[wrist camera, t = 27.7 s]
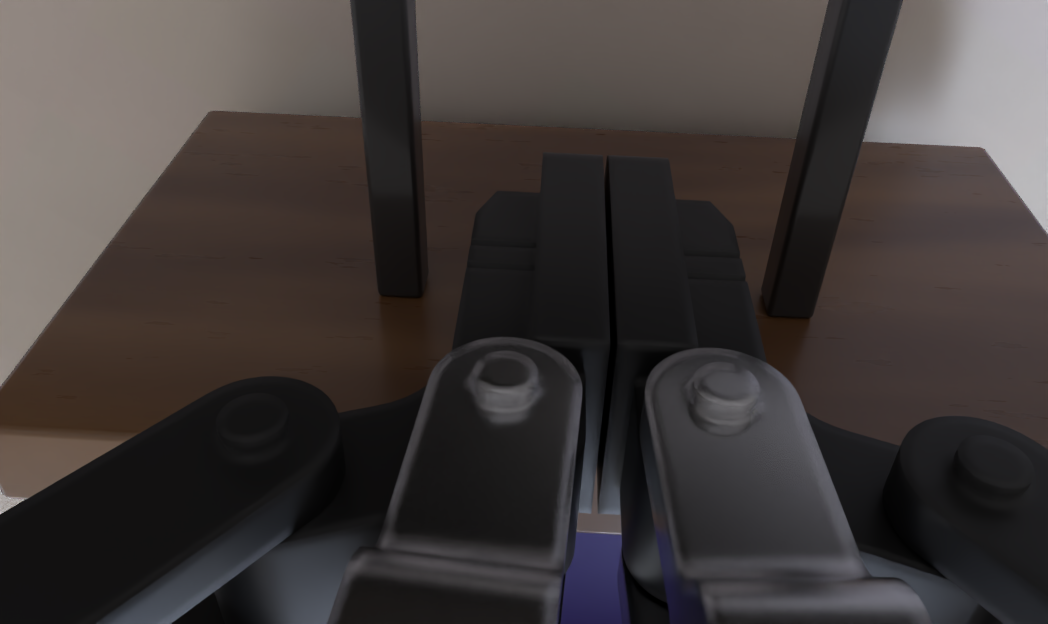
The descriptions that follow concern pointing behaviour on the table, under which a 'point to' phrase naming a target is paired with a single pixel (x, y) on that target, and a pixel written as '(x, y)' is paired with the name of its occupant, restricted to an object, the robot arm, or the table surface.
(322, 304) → the drawer
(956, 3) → the table surface
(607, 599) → the blue-violet rectangular block
